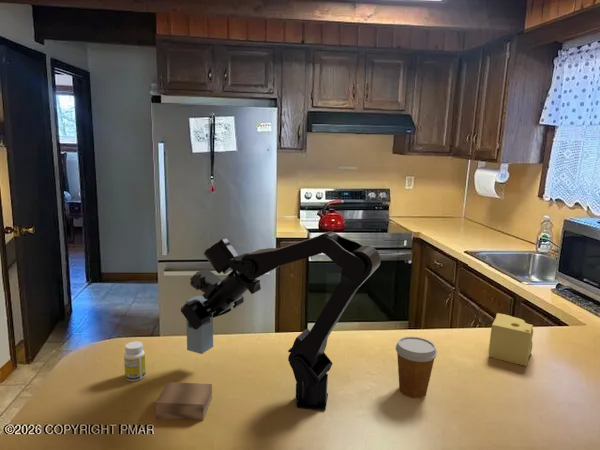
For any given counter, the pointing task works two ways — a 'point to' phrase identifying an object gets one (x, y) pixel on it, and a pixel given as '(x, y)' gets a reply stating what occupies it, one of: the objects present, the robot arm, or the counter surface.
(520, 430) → the counter surface
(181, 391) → the walnut block
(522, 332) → the cheese
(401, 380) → the disposable coffee cup
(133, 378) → the supplement bottle
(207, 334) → the slate block
